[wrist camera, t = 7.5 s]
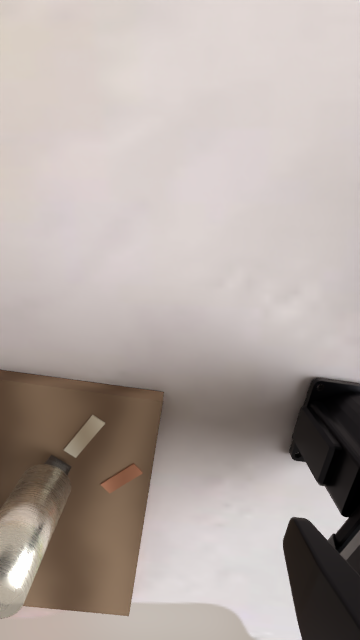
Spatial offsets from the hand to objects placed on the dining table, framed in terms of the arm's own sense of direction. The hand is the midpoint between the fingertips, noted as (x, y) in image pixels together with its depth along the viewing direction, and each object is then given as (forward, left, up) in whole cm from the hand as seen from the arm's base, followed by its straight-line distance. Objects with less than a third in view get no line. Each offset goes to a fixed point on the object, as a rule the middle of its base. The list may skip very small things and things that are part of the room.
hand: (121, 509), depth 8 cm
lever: (+9, +16, -10) cm, 21 cm away
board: (+10, +14, -12) cm, 21 cm away
